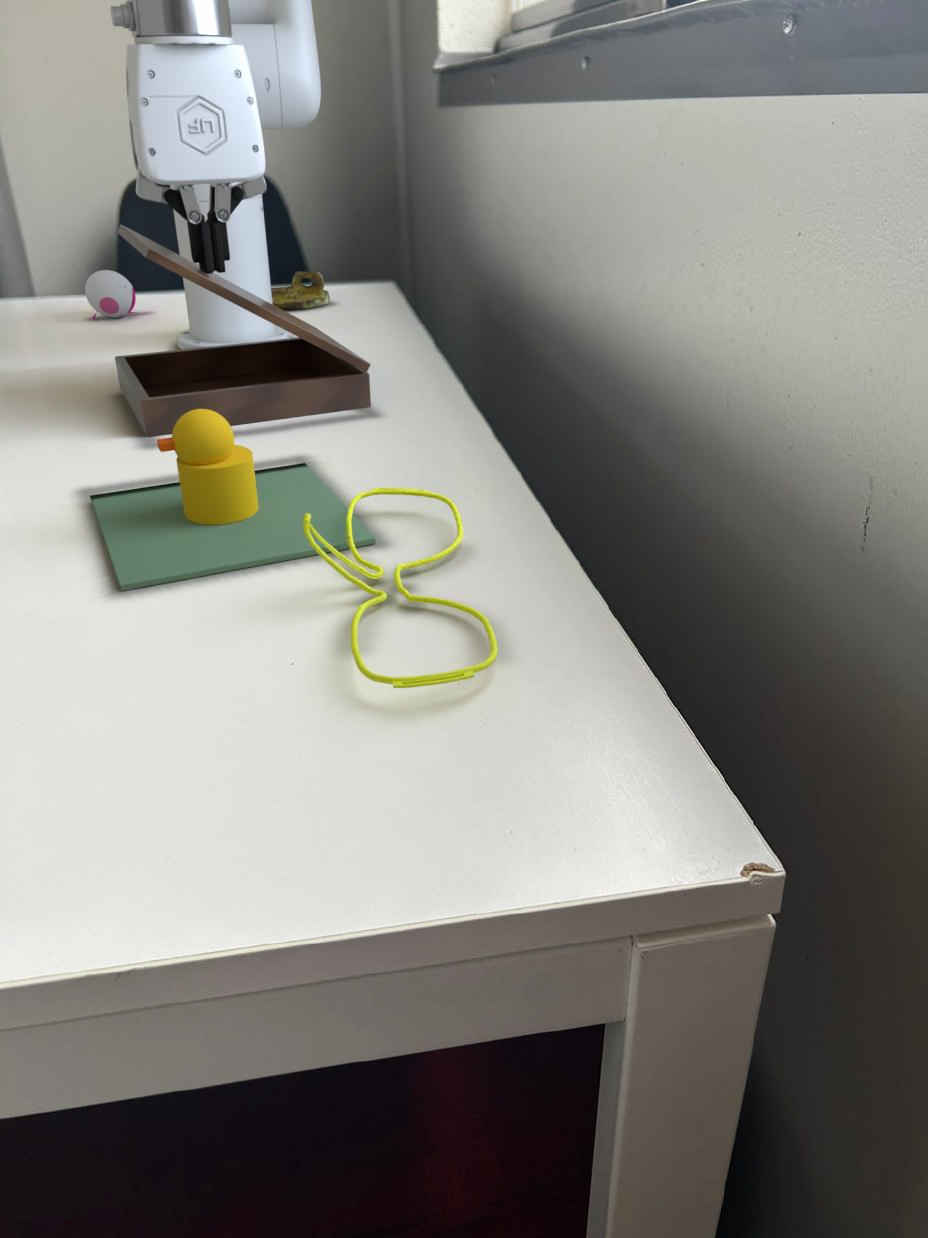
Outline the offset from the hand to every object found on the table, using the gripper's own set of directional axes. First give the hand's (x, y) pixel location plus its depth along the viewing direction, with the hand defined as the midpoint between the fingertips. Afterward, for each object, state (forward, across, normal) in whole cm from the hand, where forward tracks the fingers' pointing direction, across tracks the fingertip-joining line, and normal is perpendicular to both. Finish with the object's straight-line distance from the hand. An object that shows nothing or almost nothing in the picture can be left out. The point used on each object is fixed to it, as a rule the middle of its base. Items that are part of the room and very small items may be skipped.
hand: (212, 270), depth 86 cm
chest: (+12, +1, 0) cm, 12 cm away
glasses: (+12, 0, -42) cm, 43 cm away
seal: (+12, +17, +45) cm, 49 cm away
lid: (+3, +2, 0) cm, 4 cm away
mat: (+12, -6, -26) cm, 29 cm away
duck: (+12, -6, -26) cm, 29 cm away
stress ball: (+12, -3, +47) cm, 49 cm away
